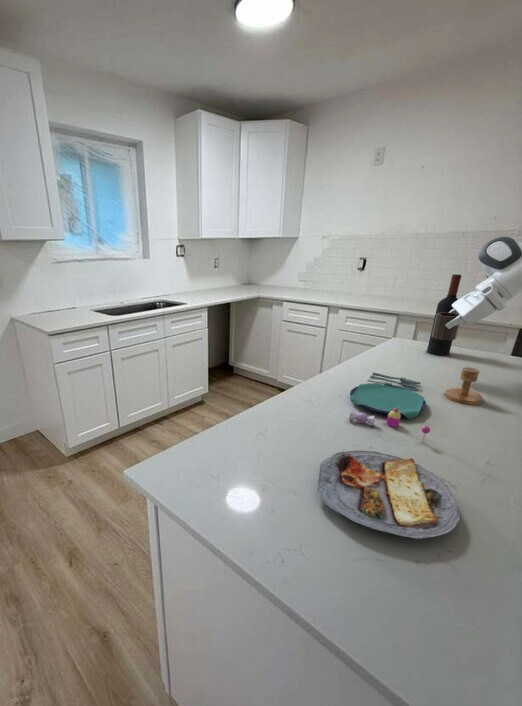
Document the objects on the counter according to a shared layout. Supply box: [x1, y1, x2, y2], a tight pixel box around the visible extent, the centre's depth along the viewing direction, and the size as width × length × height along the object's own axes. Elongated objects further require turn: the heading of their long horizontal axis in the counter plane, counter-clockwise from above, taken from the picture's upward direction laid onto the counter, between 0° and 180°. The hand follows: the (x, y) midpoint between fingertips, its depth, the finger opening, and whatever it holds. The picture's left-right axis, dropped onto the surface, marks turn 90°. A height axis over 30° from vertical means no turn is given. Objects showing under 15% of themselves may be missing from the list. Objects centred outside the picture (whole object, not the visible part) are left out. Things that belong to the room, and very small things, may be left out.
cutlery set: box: [349, 372, 427, 420], centre depth 109 cm, size 20×30×2 cm, turn 143°
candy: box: [348, 405, 431, 444], centre depth 92 cm, size 18×8×6 cm, turn 57°
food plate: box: [316, 450, 461, 540], centre depth 69 cm, size 25×23×4 cm
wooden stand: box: [444, 366, 483, 406], centre depth 105 cm, size 9×9×9 cm
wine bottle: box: [426, 273, 462, 357], centre depth 138 cm, size 8×8×30 cm
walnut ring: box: [432, 312, 461, 341], centre depth 116 cm, size 7×7×8 cm
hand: (444, 324), depth 116 cm, fingers closed on walnut ring, 6 cm apart
